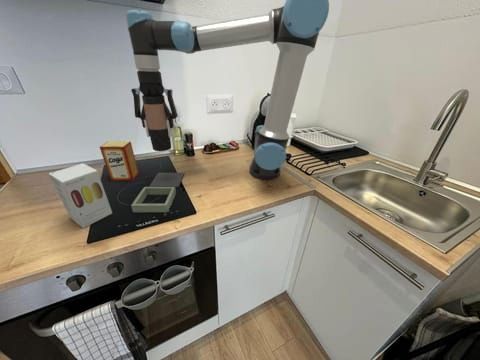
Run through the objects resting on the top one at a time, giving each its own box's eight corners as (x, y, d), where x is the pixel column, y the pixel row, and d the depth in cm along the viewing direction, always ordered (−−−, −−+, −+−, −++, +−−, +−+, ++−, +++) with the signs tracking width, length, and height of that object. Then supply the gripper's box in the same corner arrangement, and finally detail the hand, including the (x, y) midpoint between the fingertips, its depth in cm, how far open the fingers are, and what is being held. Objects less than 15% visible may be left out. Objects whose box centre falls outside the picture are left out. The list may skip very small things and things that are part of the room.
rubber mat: (184, 173, 94) (184, 172, 94) (178, 187, 84) (178, 186, 84) (158, 173, 94) (158, 172, 93) (149, 187, 83) (149, 186, 83)
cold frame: (176, 193, 80) (175, 186, 78) (168, 212, 70) (166, 205, 68) (145, 193, 79) (144, 186, 78) (133, 212, 69) (131, 205, 67)
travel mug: (166, 152, 77) (156, 97, 67) (148, 150, 78) (136, 96, 68) (175, 145, 84) (168, 95, 74) (158, 144, 85) (149, 93, 75)
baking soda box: (111, 180, 87) (99, 145, 79) (117, 173, 93) (107, 140, 85) (133, 180, 88) (123, 146, 80) (138, 173, 93) (130, 140, 85)
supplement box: (82, 229, 61) (59, 182, 53) (69, 218, 66) (45, 173, 57) (113, 212, 68) (97, 169, 60) (99, 203, 73) (82, 162, 64)
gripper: (181, 71, 71) (188, 133, 82) (122, 69, 70) (137, 132, 81) (176, 71, 64) (184, 139, 76) (111, 69, 63) (129, 138, 75)
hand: (160, 135), depth 79 cm, fingers closed on travel mug, 8 cm apart
